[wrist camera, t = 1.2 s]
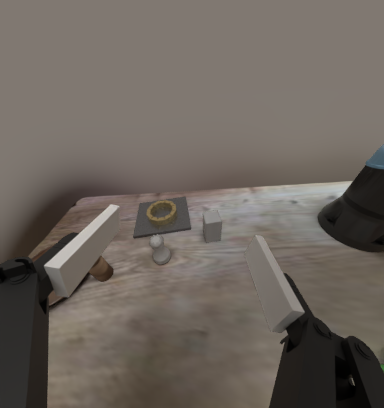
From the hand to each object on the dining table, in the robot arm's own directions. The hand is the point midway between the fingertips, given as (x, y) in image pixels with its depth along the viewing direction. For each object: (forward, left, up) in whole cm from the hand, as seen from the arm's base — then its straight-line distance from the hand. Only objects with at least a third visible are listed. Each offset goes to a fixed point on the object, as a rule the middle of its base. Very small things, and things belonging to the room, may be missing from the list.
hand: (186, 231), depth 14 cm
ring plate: (-8, -27, -24) cm, 36 cm away
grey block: (-14, -10, -24) cm, 29 cm away
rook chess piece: (0, -14, -24) cm, 28 cm away
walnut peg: (+13, -20, -24) cm, 33 cm away
